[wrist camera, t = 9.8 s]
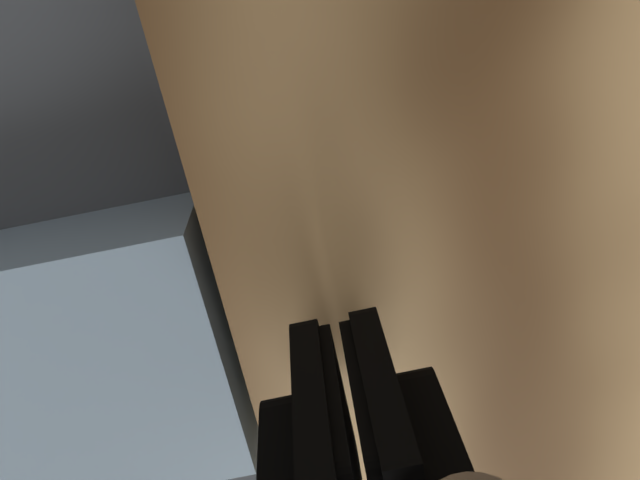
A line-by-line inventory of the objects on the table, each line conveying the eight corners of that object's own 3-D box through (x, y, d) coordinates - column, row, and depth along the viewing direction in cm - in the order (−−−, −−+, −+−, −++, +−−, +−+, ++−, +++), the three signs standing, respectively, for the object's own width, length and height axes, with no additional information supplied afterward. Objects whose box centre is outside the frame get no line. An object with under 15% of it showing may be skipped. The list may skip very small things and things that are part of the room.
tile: (198, 190, 13) (183, 235, 11) (258, 401, 16) (256, 474, 14) (-195, 268, 13) (-291, 328, 11) (-74, 466, 16) (-132, 548, 14)
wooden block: (763, -181, 12) (916, -230, 9) (698, 445, 18) (773, 530, 15) (152, -58, 12) (115, -67, 9) (307, 520, 18) (313, 617, 16)
